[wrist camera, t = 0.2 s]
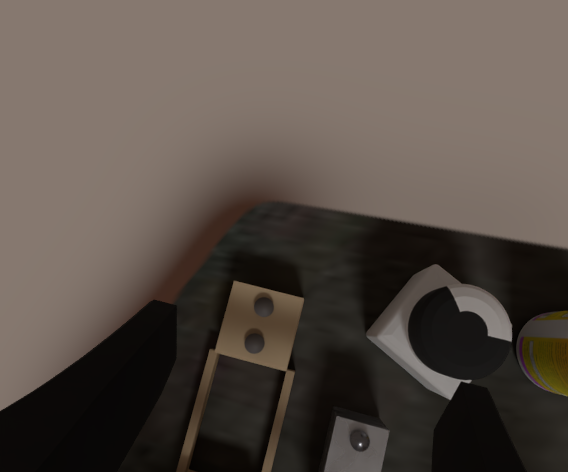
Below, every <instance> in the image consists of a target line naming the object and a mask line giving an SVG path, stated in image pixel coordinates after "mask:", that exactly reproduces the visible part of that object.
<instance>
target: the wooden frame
mask: <svg viewBox="0 0 568 472" xmlns="http://www.w3.org/2000/svg"><path fill="white" fill-rule="evenodd" d="M303 303H304V298H300V297H297V296H293V295H289V294H285V293H281V292H277V291H273V290H269V289H265V288H261V287H257V286H253V285H249V284H245V283H241V282H237V281H234V283H233V286H232V290H231V294H230V297H229V301H228V305H227V308H226V312H225V316H224V319H223V323H222V327H221V330H220V334H219V338H218V341H217V345H216V349H210V351H209V354H208V358H207V362H206V365H205V369H204V372H203V376H202V380H201V383H200V387H199V391H198V394H197V398H196V402H195V405H194V409H193V413H192V416H191V420H190V423H189V427H188V431H187V434H186V438H185V442H184V445H183V449H182V453H181V456H180V460H179V463H178V467H177V471H176V472H196V471H193V470H190V469H189V466H190V463H191V459H192V455H193V452H194V448H195V444H196V441H197V437H198V433H199V429H200V426H201V422H202V418H203V415H204V411H205V407H206V404H207V400H208V396H209V393H210V389H211V385H212V381H213V378H214V374H215V370H216V367H217V363H218V359H219V356H220V354H223V355H226V356H230V357H234V358H238V359H241V360H245V361H249V362H253V363H256V364H260V365H264V366H268V367H271V368H275V369H279V370H282V371H286V370H287V371H286V375H285V379H284V383H283V387H282V391H281V395H280V399H279V404H278V408H277V412H276V416H275V420H274V424H273V428H272V432H271V436H270V440H269V444H268V448H267V452H266V456H265V460H264V465H263V469H262V472H271V469H272V464H273V460H274V456H275V452H276V448H277V444H278V440H279V436H280V432H281V427H282V423H283V419H284V415H285V411H286V407H287V403H288V399H289V395H290V390H291V386H292V382H293V378H294V374H295V370H292V369H288V364H289V360H290V356H291V352H292V348H293V344H294V340H295V336H296V332H297V328H298V323H299V319H300V315H301V311H302V307H303Z"/></svg>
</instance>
